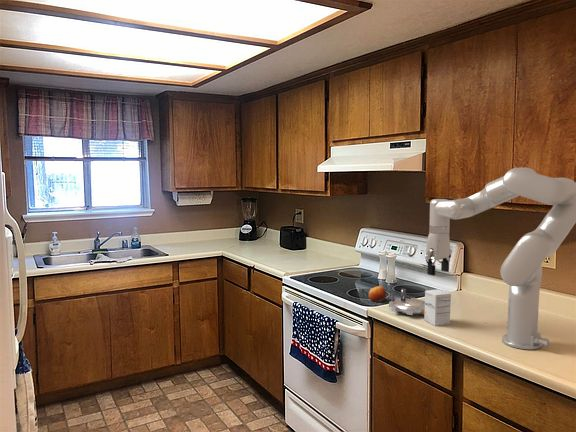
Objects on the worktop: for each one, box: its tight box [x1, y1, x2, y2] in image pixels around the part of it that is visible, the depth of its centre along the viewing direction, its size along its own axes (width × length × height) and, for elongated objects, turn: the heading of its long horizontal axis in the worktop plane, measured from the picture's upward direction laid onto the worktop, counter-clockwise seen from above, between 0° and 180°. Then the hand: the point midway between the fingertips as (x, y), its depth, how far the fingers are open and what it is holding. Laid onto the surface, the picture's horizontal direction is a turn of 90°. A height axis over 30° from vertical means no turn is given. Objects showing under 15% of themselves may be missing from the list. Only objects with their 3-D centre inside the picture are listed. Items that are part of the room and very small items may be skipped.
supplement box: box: [423, 288, 452, 327], centre depth 186 cm, size 7×7×13 cm
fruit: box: [368, 285, 387, 303], centre depth 218 cm, size 8×8×8 cm
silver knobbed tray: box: [388, 288, 425, 316], centre depth 200 cm, size 19×19×7 cm
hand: (438, 273), depth 185 cm, fingers open, 9 cm apart
